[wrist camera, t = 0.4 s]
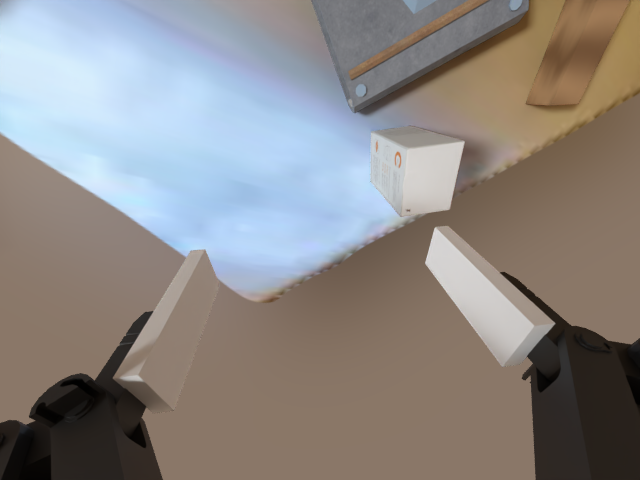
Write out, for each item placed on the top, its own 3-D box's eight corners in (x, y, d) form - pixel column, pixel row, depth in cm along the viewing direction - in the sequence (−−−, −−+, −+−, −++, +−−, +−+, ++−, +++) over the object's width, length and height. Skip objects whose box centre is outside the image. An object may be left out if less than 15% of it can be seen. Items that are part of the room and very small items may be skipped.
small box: (406, 177, 39) (450, 211, 28) (369, 182, 38) (399, 218, 28) (411, 124, 34) (467, 140, 23) (370, 130, 34) (406, 148, 23)
